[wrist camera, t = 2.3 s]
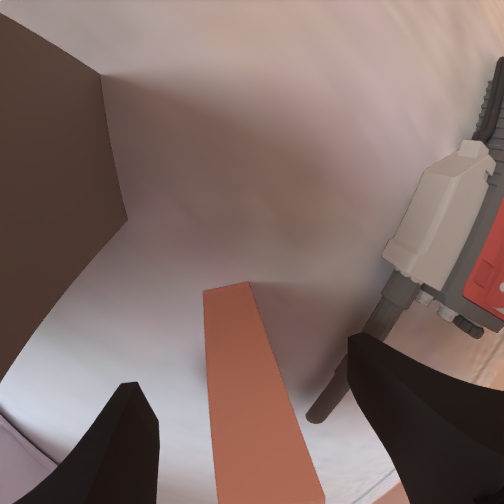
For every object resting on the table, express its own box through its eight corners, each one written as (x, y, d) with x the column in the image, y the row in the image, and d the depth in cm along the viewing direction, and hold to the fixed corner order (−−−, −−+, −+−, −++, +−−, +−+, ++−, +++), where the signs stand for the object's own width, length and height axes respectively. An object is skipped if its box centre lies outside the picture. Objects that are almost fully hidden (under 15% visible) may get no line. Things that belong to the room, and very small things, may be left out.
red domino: (248, 281, 11) (325, 497, 3) (267, 383, 13) (320, 552, 5) (202, 290, 11) (220, 519, 3) (231, 390, 12) (264, 564, 5)
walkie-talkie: (461, 27, 9) (284, 398, 14) (529, 13, 5) (309, 471, 10) (540, 130, 11) (400, 411, 16) (593, 140, 7) (433, 459, 12)
